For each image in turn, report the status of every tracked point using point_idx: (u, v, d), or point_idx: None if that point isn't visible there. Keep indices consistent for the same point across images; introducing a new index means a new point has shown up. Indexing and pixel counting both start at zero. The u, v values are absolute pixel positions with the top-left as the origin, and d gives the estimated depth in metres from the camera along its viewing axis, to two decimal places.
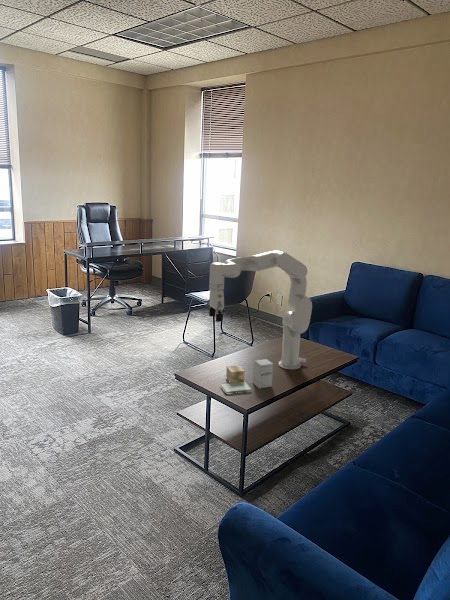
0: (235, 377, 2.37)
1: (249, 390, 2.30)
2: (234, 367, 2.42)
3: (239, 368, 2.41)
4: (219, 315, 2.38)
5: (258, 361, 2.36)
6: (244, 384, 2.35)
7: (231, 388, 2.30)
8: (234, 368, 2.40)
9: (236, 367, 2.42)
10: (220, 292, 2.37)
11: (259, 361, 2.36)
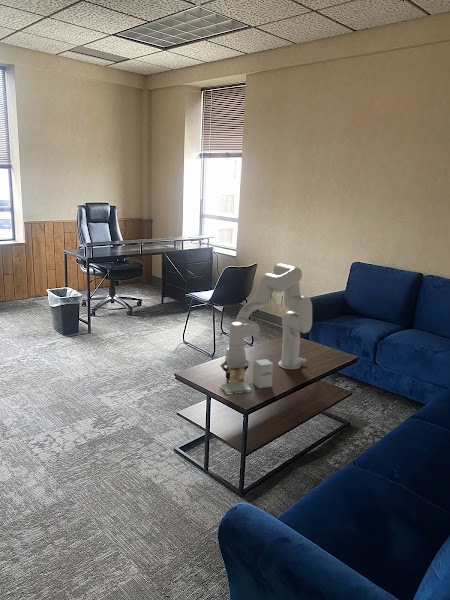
0: (235, 377, 2.37)
1: (249, 390, 2.30)
2: None
3: (239, 368, 2.41)
4: None
5: (258, 361, 2.36)
6: (244, 384, 2.35)
7: (231, 388, 2.30)
8: (234, 368, 2.40)
9: None
10: None
11: (259, 361, 2.36)
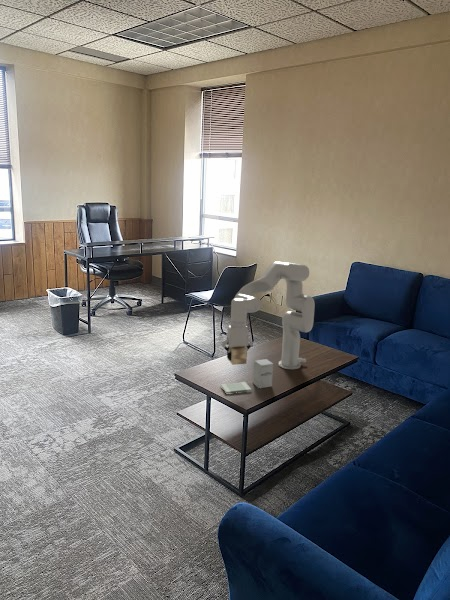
0: (237, 356, 2.24)
1: (249, 390, 2.30)
2: None
3: (241, 347, 2.27)
4: None
5: (258, 361, 2.36)
6: (244, 384, 2.35)
7: (231, 388, 2.30)
8: (235, 347, 2.27)
9: None
10: None
11: (259, 361, 2.36)
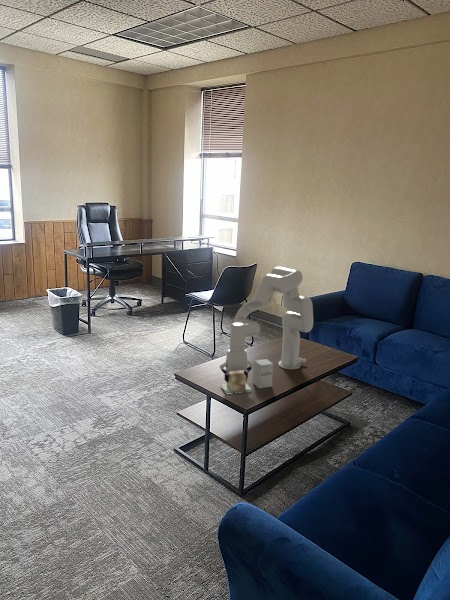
0: (236, 382, 2.27)
1: (249, 390, 2.30)
2: (235, 372, 2.32)
3: (240, 373, 2.30)
4: None
5: (258, 361, 2.36)
6: None
7: None
8: (235, 373, 2.30)
9: (237, 372, 2.32)
10: None
11: (259, 361, 2.36)
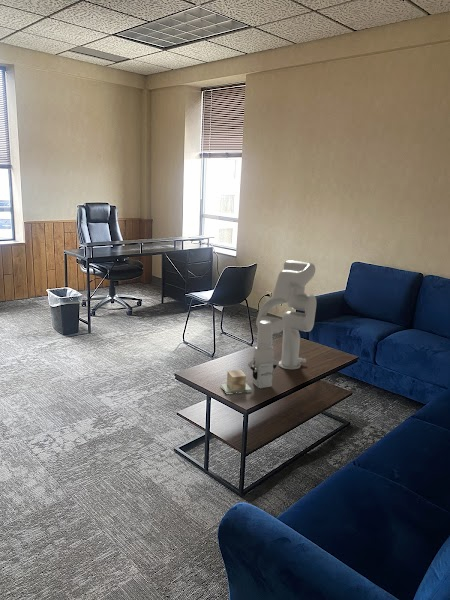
0: (236, 382, 2.27)
1: (249, 390, 2.30)
2: (235, 372, 2.32)
3: (240, 373, 2.30)
4: None
5: None
6: None
7: None
8: (235, 373, 2.30)
9: (237, 372, 2.32)
10: None
11: None
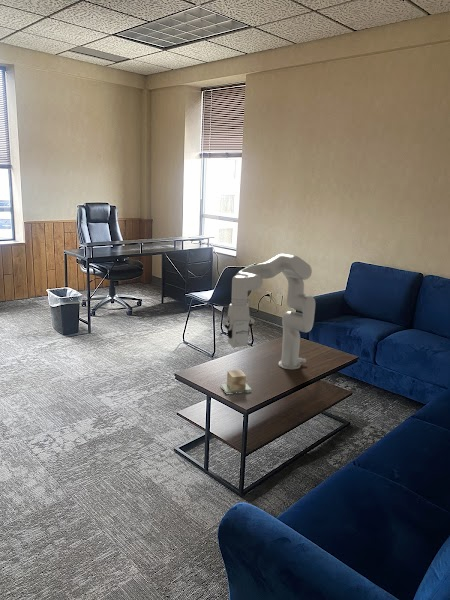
0: (236, 382, 2.27)
1: (249, 390, 2.30)
2: (235, 372, 2.32)
3: (240, 373, 2.30)
4: None
5: None
6: None
7: None
8: (235, 373, 2.30)
9: (237, 372, 2.32)
10: None
11: None
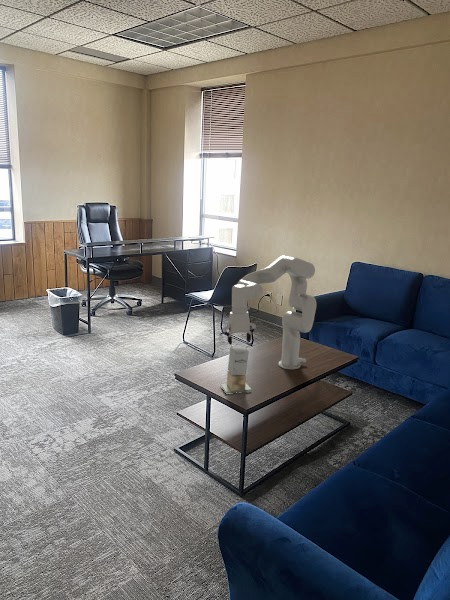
0: (236, 382, 2.27)
1: (249, 390, 2.30)
2: None
3: None
4: None
5: (234, 347, 2.28)
6: None
7: None
8: None
9: None
10: None
11: (235, 347, 2.28)
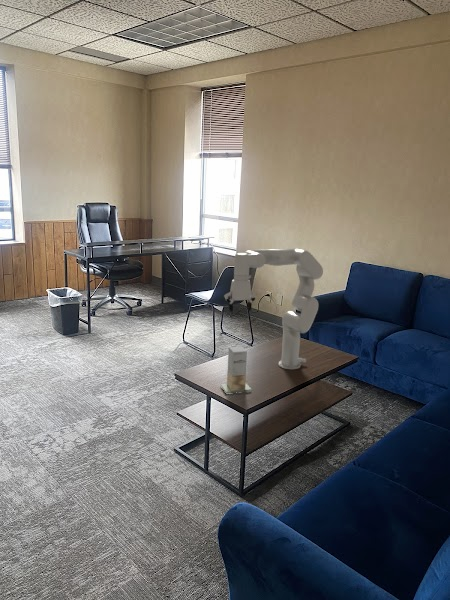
0: (236, 382, 2.27)
1: (249, 390, 2.30)
2: None
3: None
4: None
5: (232, 348, 2.28)
6: None
7: None
8: None
9: None
10: None
11: (233, 348, 2.28)
